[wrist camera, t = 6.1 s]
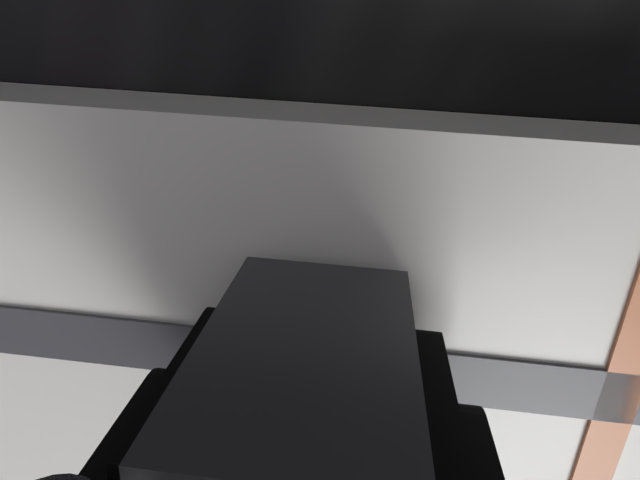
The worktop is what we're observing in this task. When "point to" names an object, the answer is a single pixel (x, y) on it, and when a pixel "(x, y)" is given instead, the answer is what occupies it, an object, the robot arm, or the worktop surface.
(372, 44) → the worktop surface
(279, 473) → the fader tab
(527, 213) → the console
